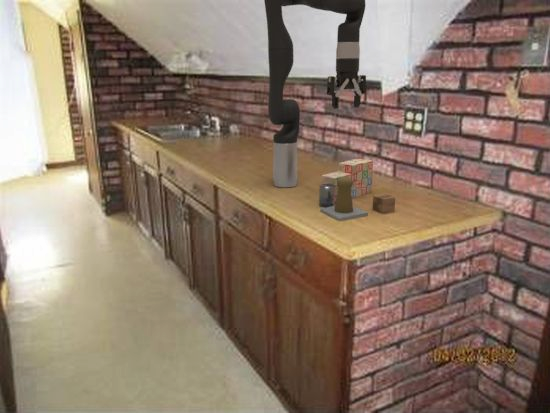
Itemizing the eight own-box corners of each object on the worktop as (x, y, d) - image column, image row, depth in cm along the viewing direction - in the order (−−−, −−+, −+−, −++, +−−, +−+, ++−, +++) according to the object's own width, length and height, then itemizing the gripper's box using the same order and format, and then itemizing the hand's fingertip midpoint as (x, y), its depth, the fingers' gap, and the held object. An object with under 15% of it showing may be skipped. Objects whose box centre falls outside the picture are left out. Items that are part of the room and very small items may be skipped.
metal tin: (316, 204, 163) (316, 185, 161) (328, 202, 165) (329, 183, 163) (324, 208, 158) (324, 188, 156) (336, 206, 161) (337, 186, 159)
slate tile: (320, 211, 155) (320, 208, 155) (347, 206, 160) (347, 203, 160) (339, 221, 146) (339, 218, 146) (368, 215, 151) (368, 212, 151)
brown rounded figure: (356, 211, 151) (358, 178, 148) (339, 214, 149) (340, 180, 146) (347, 206, 157) (348, 174, 153) (331, 208, 155) (332, 176, 151)
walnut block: (372, 210, 156) (373, 195, 155) (384, 207, 159) (385, 193, 157) (382, 214, 152) (383, 199, 151) (394, 211, 155) (395, 197, 153)
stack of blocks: (334, 204, 163) (335, 169, 160) (320, 200, 168) (321, 166, 164) (371, 192, 177) (373, 160, 173) (358, 189, 181) (359, 157, 178)
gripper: (358, 57, 160) (356, 105, 165) (323, 57, 154) (322, 108, 158) (372, 56, 153) (370, 107, 158) (336, 57, 147) (334, 110, 152)
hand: (346, 107), depth 158 cm, fingers open, 8 cm apart
